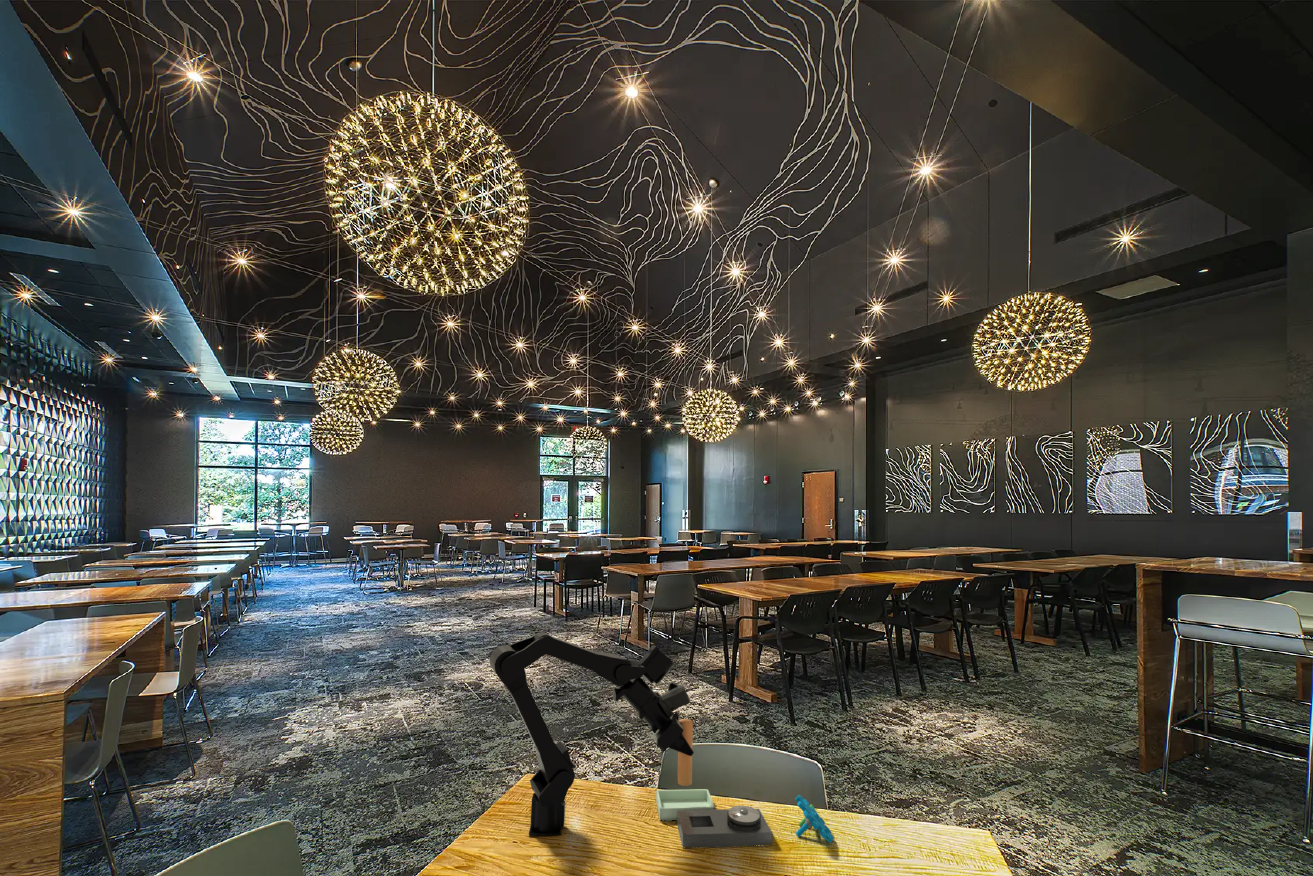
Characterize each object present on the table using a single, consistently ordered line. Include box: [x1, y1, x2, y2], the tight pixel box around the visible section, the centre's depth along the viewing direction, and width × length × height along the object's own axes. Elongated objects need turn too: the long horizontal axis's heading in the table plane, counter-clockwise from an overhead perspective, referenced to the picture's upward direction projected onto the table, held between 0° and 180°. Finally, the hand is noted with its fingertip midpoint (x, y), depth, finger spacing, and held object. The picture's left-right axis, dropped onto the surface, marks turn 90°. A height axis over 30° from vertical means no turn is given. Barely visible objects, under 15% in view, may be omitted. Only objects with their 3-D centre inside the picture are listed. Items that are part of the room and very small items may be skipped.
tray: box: [655, 788, 716, 822], centre depth 133 cm, size 12×9×2 cm
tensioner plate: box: [676, 805, 773, 849], centre depth 123 cm, size 18×10×5 cm, turn 95°
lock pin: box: [677, 718, 694, 787], centre depth 135 cm, size 3×3×13 cm
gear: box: [794, 794, 835, 844], centre depth 123 cm, size 11×6×10 cm
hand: (691, 751), depth 135 cm, fingers closed on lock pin, 3 cm apart
